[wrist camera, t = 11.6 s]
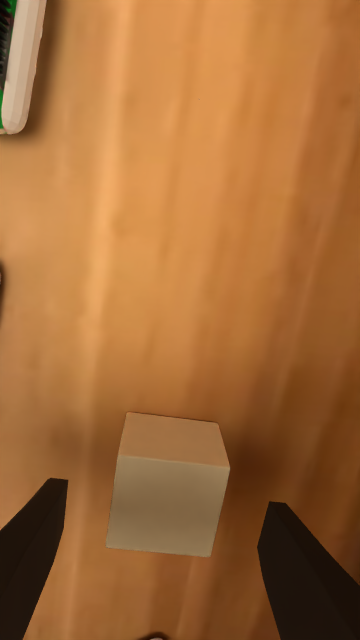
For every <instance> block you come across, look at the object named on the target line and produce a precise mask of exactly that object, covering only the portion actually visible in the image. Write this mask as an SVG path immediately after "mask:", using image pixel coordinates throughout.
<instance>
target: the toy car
mask: <svg viewBox="0 0 360 640" xmlns="http://www.w3.org/2000/svg"><path fill="white" fill-rule="evenodd" d="M46 2H47V0H0V134H7V133H8V134H15V133H18V132H19V131H21V130H22V129H23V128H24V127H25V124H26V121H27V119H28V113H29V107H30V100H31V94H32V88H33V82H34V77H35V75H36V69H37V68H36V63H37V57H38V51H39V45H40V39H41V38H42V32H43V29H42V26H43V20H44V14H45V8H46Z"/></svg>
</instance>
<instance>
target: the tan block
mask: <svg viewBox="0 0 360 640" xmlns="http://www.w3.org/2000/svg"><path fill="white" fill-rule="evenodd" d="M229 473H230V465H229V461H228V457H227V454H226V450H225V447H224V443H223V439H222V436H221V432H220V429H219V425H218V423H214V422H206V421H198V420H190V419H182V418H173V417H165V416H157V415H149V414H141V413H133V412H127V414H126V419H125V423H124V428H123V433H122V437H121V442H120V446H119V451H118V456H117V463H116V471H115V478H114V485H113V493H112V500H111V508H110V515H109V523H108V530H107V537H106V545H105V546H106V548H114V549H125V550H136V551H146V552H157V553H168V554H179V555H190V556H201V557H210V556H211V552H212V548H213V543H214V539H215V535H216V530H217V526H218V521H219V517H220V512H221V508H222V504H223V499H224V495H225V490H226V486H227V482H228V477H229Z"/></svg>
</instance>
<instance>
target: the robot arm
mask: <svg viewBox="0 0 360 640" xmlns="http://www.w3.org/2000/svg"><path fill="white" fill-rule="evenodd" d="M67 487H68V480H65V479H56V478H50V479H48V480H47V481H46V482H45V483H44V484H43V486H42V487H41V488H40V489H39V490H38V491H37V493H36V494H35V495H34V496H33V497H32V498H31V499H30V500H29V502H28V503H27V504H26V505H25V506H24V507H23V508H22V509H21V510H20V511H19V512H18V513H17V514H16V515H15V516H14V517H13V518H12V519H11V520H10V521H9V522H8V523H7V524H6V525H5V526H4V527H3V528H2V529H1V530H0V640H23V637H24V635H25V632H26V630H27V627H28V625H29V622H30V620H31V617H32V615H33V612H34V610H35V607H36V605H37V602H38V600H39V597H40V595H41V592H42V590H43V587H44V585H45V582H46V580H47V577H48V575H49V572H50V570H51V567H52V565H53V562H54V559H55V556H56V552H57V549H58V546H59V542H60V539H61V535H62V532H63V528H64V519H65V508H66V498H67ZM257 548H258V554H259V560H260V566H261V571H262V576H263V580H264V584H265V588H266V591H267V594H268V598H269V601H270V605H271V608H272V611H273V615H274V618H275V621H276V625H277V628H278V631H279V635H280V638H281V640H360V586H359V585H358V584H357V583H356V582H355V581H354V579H353V578H352V577H351V576H350V575H349V574H348V573H347V572H346V571H345V570H344V569H343V568H342V567H341V566H340V565H339V564H338V563H337V562H336V560H335V559H334V558H333V557H332V556H331V555H330V554H329V553H328V552H327V551H326V549H325V548H324V547H323V546H322V545H321V544H320V543H319V541H318V540H317V539H316V538H315V537H314V536H313V534H312V533H311V532H310V531H309V530H308V529H307V527H306V526H305V525H304V524H303V523H302V521H301V520H300V519H299V518H298V517H297V516H296V514H295V513H294V512H293V511H292V510H291V509H290V507H289V506H288V505H287V504H286V503H280V502H271V501H269V505H268V508H267V512H266V516H265V520H264V523H263V527H262V531H261V534H260V538H259V542H258V546H257ZM150 640H163V639H161V638H153V639H150Z"/></svg>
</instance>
